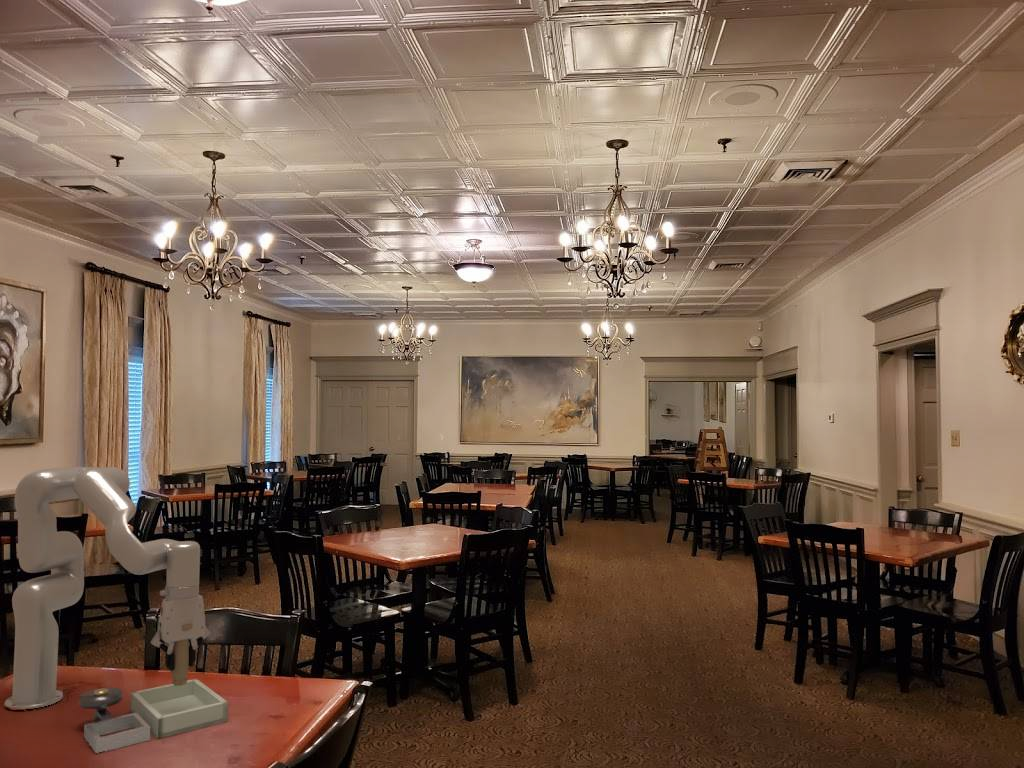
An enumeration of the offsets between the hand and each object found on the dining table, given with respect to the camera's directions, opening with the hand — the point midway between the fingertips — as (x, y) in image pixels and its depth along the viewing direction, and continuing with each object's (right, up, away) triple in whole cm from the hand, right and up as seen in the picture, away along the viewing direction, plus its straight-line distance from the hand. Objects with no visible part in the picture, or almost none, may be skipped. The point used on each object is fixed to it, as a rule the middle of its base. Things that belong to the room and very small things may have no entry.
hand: (180, 666), depth 184 cm
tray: (0, -12, -1) cm, 12 cm away
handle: (0, -4, 0) cm, 4 cm away
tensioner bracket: (-11, -11, -11) cm, 19 cm away
